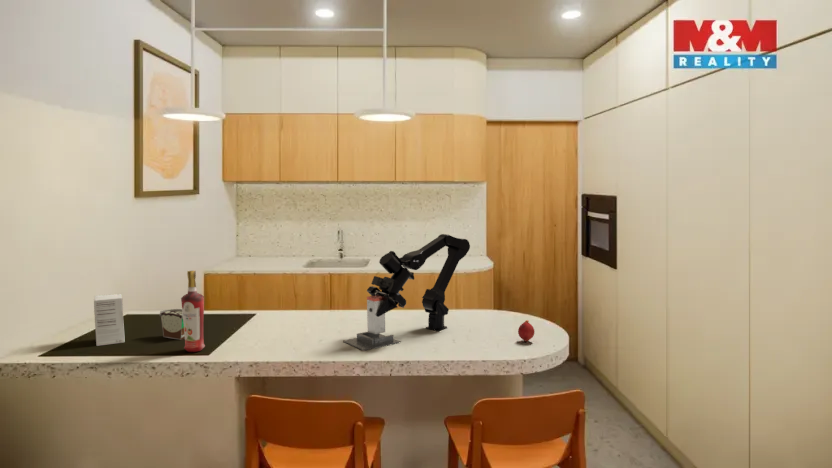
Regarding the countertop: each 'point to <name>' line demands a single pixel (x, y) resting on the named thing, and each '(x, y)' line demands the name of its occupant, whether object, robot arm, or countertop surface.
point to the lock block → (374, 322)
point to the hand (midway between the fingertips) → (373, 314)
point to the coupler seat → (371, 341)
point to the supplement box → (109, 319)
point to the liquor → (193, 316)
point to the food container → (172, 323)
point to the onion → (526, 331)
